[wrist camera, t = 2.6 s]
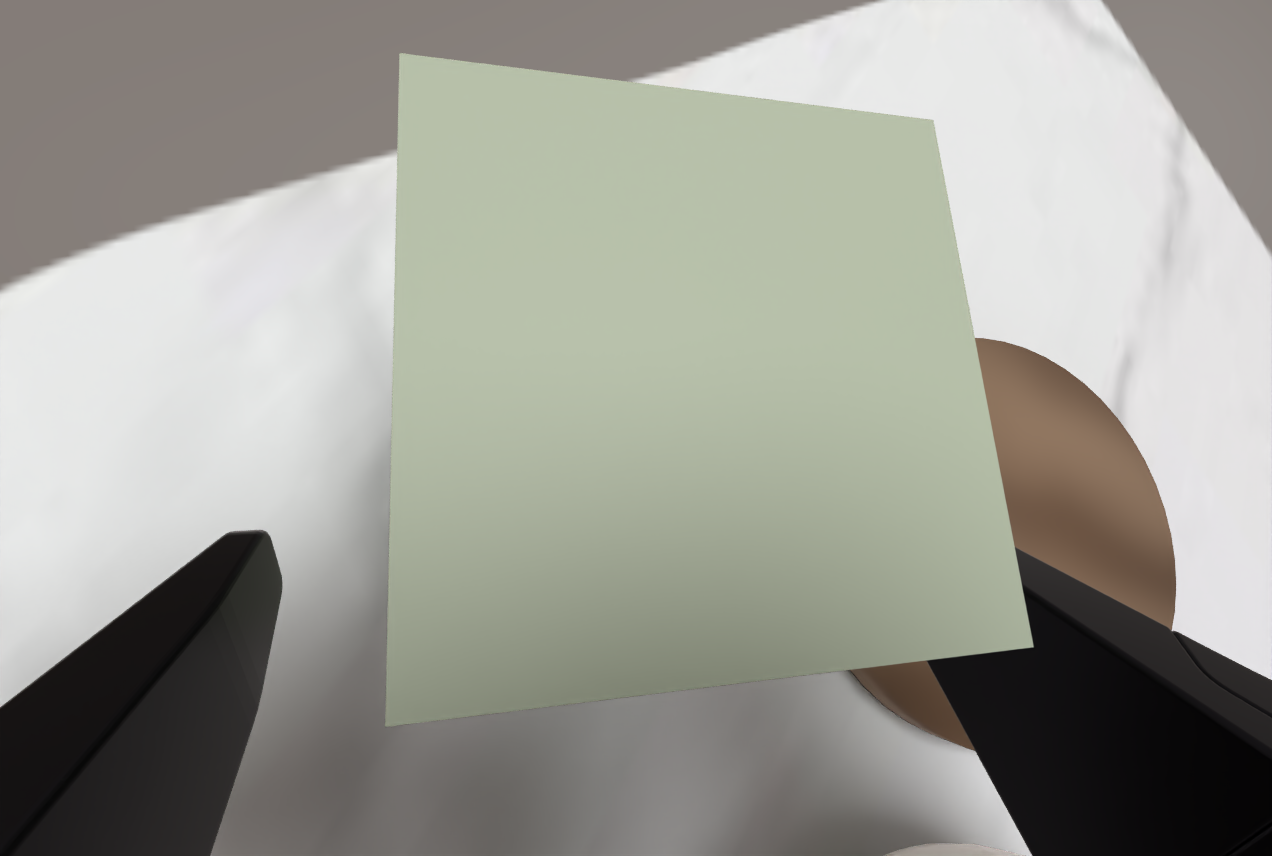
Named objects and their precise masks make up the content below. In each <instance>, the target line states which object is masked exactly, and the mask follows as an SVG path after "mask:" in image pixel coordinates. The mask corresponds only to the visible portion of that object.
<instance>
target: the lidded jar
mask: <svg viewBox="0 0 1272 856" xmlns="http://www.w3.org/2000/svg"><path fill="white" fill-rule="evenodd" d="M884 856H1025V855H1021V854H1016V853H1012V852H1008V851H1004V850H1000V849H996V848H991V847H986V846H982V845H977V844H941V843H928V844H922V845H917V846H912V847H907V848H903V849H900V850H897V851H894V852H892V853H889V854H887V855H884Z"/></svg>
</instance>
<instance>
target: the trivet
mask: <svg viewBox="0 0 1272 856" xmlns="http://www.w3.org/2000/svg"><path fill="white" fill-rule="evenodd" d="M975 342H976V347H977V353H978V358H979V363H980V368H981V374H982V379H983V384H984V389H985V394H986V400H987V405H988V410H989V415H990V421H991V426H992V431H993V436H994V442H995V447H996V452H997V457H998V463H999V468H1000V473H1001V478H1002V484H1003V489H1004V494H1005V499H1006V505H1007V510H1008V515H1009V520H1010V525H1011V531H1012V536H1013V541H1014V546H1015V547H1016V548H1018V549H1020V550H1022V551H1024V552H1026V553H1028V554H1030V555H1031V556H1033V557H1035V558H1037V559H1039V560H1041V561H1043V562H1045V563H1047V564H1049V565H1051V566H1052V567H1054V568H1056V569H1058V570H1060V571H1062V572H1064V573H1066V574H1068V575H1070V576H1071V577H1073V578H1075V579H1077V580H1079V581H1081V582H1083V583H1085V584H1087V585H1089V586H1091V587H1092V588H1094V589H1096V590H1098V591H1100V592H1102V593H1104V594H1106V595H1108V596H1110V597H1112V598H1113V599H1115V600H1117V601H1119V602H1121V603H1123V604H1125V605H1127V606H1129V607H1131V608H1133V609H1134V610H1136V611H1138V612H1140V613H1142V614H1144V615H1146V616H1148V617H1150V618H1152V619H1154V620H1155V621H1157V622H1159V623H1161V624H1163V625H1165V626H1167V627H1169V628H1170V630H1172V624H1173V619H1174V613H1175V597H1176V574H1175V558H1174V551H1173V545H1172V538H1171V533H1170V529H1169V525H1168V521H1167V516H1166V512H1165V509H1164V506H1163V503H1162V500H1161V497H1160V495H1159V492H1158V489H1157V486H1156V484H1155V481H1154V479H1153V477H1152V475H1151V473H1150V470H1149V468H1148V466H1147V464H1146V462H1145V460H1144V458H1143V457H1142V455H1141V453H1140V451H1139V450H1138V448H1137V446H1136V444H1135V443H1134V441H1133V439H1132V438H1131V436H1130V435H1129V434H1128V432H1127V431H1126V429H1125V428H1124V427H1123V425H1122V424H1121V422H1120V421H1119V420H1118V418H1117V417H1116V416H1115V415H1114V414H1113V413H1112V411H1111V410H1110V409H1109V408H1108V407H1107V406H1106V404H1105V403H1104V402H1103V401H1102V400H1101V399H1100V398H1099V397H1098V396H1097V395H1096V394H1095V393H1094V392H1093V391H1092V390H1090V389H1089V388H1088V387H1087V386H1086V385H1085V384H1084V383H1083V382H1081V381H1080V380H1079V379H1077V378H1076V377H1075V376H1074V375H1072V374H1071V373H1070V372H1068V371H1067V370H1066V369H1064V368H1062V367H1061V366H1059V365H1057V364H1056V363H1054V362H1052V361H1051V360H1049V359H1047V358H1046V357H1044V356H1041V355H1039V354H1037V353H1035V352H1032V351H1030V350H1028V349H1026V348H1023V347H1019V346H1016V345H1013V344H1010V343H1006V342H1002V341H996V340H990V339H984V338H975ZM850 671H851V672H852V673H853V674H854V675H855V677H856V678H857V679H858V680H859V681H860V682H861V684H862V685H863V686H864V687H865V688H866V689H867V690H868V691H869V692H870V693H871V694H872V695H873V696H874V697H876V698H877V699H878V700H879V701H880V702H881V703H882V704H883V705H884V706H885V707H887V708H888V709H890V710H891V711H892V712H894V713H895V714H897V715H898V716H900V717H901V718H902V719H904V720H905V721H907V722H908V723H910V724H912V725H914V726H916V727H918V728H920V729H922V730H924V731H926V732H928V733H930V734H933V735H935V736H938V737H940V738H943V739H945V740H948V741H950V742H953V743H955V744H958V745H960V746H963V747H965V748H968V749H971V750H974V751H975V749H974V748H973V746H972V744H971V742H970V740H969V738H968V737H967V735H966V733H965V731H964V729H963V727H962V726H961V724H960V722H959V720H958V718H957V716H956V715H955V713H954V711H953V709H952V707H951V705H950V704H949V702H948V700H947V698H946V696H945V694H944V692H943V691H942V689H941V687H940V685H939V683H938V681H937V680H936V678H935V676H934V674H933V672H932V670H931V669H930V667H929V665H928V663H927V661H926V660H925V661H917V662H909V663H901V664H893V665H885V666H877V667H869V668H861V669H852V670H850Z"/></svg>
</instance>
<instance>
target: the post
mask: <svg viewBox="0 0 1272 856" xmlns="http://www.w3.org/2000/svg"><path fill="white" fill-rule="evenodd" d="M1031 647H1034V646H1033V641H1032V636H1031V630H1030V625H1029V620H1028V615H1027V609H1026V604H1025V599H1024V594H1023V588H1022V583H1021V578H1020V573H1019V567H1018V562H1017V557H1016V552H1015V546H1014V541H1013V536H1012V531H1011V525H1010V520H1009V515H1008V510H1007V505H1006V499H1005V494H1004V489H1003V484H1002V478H1001V473H1000V468H999V463H998V457H997V452H996V447H995V442H994V436H993V431H992V426H991V421H990V415H989V410H988V405H987V400H986V394H985V389H984V384H983V379H982V374H981V368H980V363H979V358H978V353H977V347H976V342H975V337H974V332H973V326H972V321H971V316H970V311H969V305H968V300H967V295H966V290H965V284H964V279H963V274H962V269H961V263H960V258H959V253H958V248H957V243H956V237H955V232H954V227H953V222H952V216H951V211H950V206H949V201H948V195H947V190H946V185H945V180H944V174H943V169H942V164H941V159H940V153H939V148H938V143H937V138H936V132H935V127H934V122H933V120H928V119H920V118H912V117H904V116H896V115H888V114H880V113H872V112H864V111H856V110H849V109H841V108H833V107H825V106H817V105H809V104H801V103H793V102H785V101H777V100H769V99H761V98H753V97H745V96H737V95H729V94H721V93H713V92H705V91H697V90H689V89H681V88H673V87H665V86H657V85H649V84H641V83H633V82H625V81H617V80H608V79H601V78H593V77H585V76H577V75H569V74H561V73H553V72H546V71H537V70H530V69H521V68H514V67H505V66H498V65H490V64H482V63H473V62H466V61H458V60H450V59H441V58H434V57H426V56H417V55H410V54H402V53H400V61H399V106H398V152H397V198H396V245H395V291H394V337H393V383H392V430H391V476H390V522H389V568H388V615H387V661H386V707H385V727H390V726H398V725H406V724H414V723H422V722H430V721H438V720H447V719H455V718H463V717H471V716H479V715H487V714H495V713H503V712H511V711H520V710H528V709H536V708H544V707H552V706H560V705H568V704H576V703H585V702H593V701H601V700H609V699H617V698H625V697H633V696H641V695H649V694H658V693H666V692H674V691H682V690H690V689H698V688H706V687H714V686H723V685H731V684H739V683H747V682H755V681H763V680H771V679H779V678H787V677H796V676H804V675H812V674H820V673H828V672H836V671H844V670H852V669H861V668H869V667H877V666H885V665H893V664H901V663H909V662H917V661H925V660H934V659H942V658H950V657H958V656H966V655H974V654H982V653H990V652H998V651H1007V650H1015V649H1023V648H1031Z"/></svg>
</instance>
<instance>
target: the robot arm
mask: <svg viewBox="0 0 1272 856" xmlns="http://www.w3.org/2000/svg"><path fill="white" fill-rule="evenodd" d="M1015 552H1016V557H1017V562H1018V567H1019V573H1020V578H1021V583H1022V588H1023V594H1024V599H1025V604H1026V609H1027V615H1028V620H1029V625H1030V630H1031V636H1032V641H1033V646H1034V647H1031V648H1023V649H1015V650H1007V651H998V652H990V653H982V654H974V655H966V656H958V657H950V658H942V659H934V660H926V661H927V663H928V665H929V667H930V669H931V670H932V672H933V674H934V676H935V678H936V680H937V681H938V683H939V685H940V687H941V689H942V691H943V692H944V694H945V696H946V698H947V700H948V702H949V704H950V705H951V707H952V709H953V711H954V713H955V715H956V716H957V718H958V720H959V722H960V724H961V726H962V727H963V729H964V731H965V733H966V735H967V737H968V738H969V740H970V742H971V744H972V746H973V748H974V749H975V751H976V753H977V755H978V757H979V759H980V760H981V762H982V764H983V766H984V768H985V770H986V772H987V773H988V775H989V777H990V779H991V781H992V783H993V784H994V786H995V788H996V790H997V792H998V794H999V795H1000V797H1001V799H1002V801H1003V803H1004V805H1005V806H1006V808H1007V810H1008V812H1009V814H1010V816H1011V817H1012V819H1013V821H1014V823H1015V825H1016V827H1017V828H1018V830H1019V832H1020V834H1021V836H1022V838H1023V840H1024V841H1025V843H1026V845H1027V847H1028V849H1029V851H1030V852H1031V854H1032V856H1272V680H1271V679H1268V678H1266V677H1264V676H1262V675H1260V674H1258V673H1256V672H1254V671H1252V670H1250V669H1248V668H1246V667H1244V666H1242V665H1240V664H1238V663H1237V662H1235V661H1233V660H1231V659H1229V658H1227V657H1225V656H1223V655H1221V654H1219V653H1217V652H1215V651H1213V650H1211V649H1209V648H1207V647H1205V646H1203V645H1201V644H1200V643H1198V642H1196V641H1194V640H1192V639H1190V638H1188V637H1186V636H1184V635H1182V634H1181V633H1179V632H1176V631H1171V630H1170V628H1169V627H1167V626H1165V625H1163V624H1161V623H1159V622H1157V621H1155V620H1154V619H1152V618H1150V617H1148V616H1146V615H1144V614H1142V613H1140V612H1138V611H1136V610H1134V609H1133V608H1131V607H1129V606H1127V605H1125V604H1123V603H1121V602H1119V601H1117V600H1115V599H1113V598H1112V597H1110V596H1108V595H1106V594H1104V593H1102V592H1100V591H1098V590H1096V589H1094V588H1092V587H1091V586H1089V585H1087V584H1085V583H1083V582H1081V581H1079V580H1077V579H1075V578H1073V577H1071V576H1070V575H1068V574H1066V573H1064V572H1062V571H1060V570H1058V569H1056V568H1054V567H1052V566H1051V565H1049V564H1047V563H1045V562H1043V561H1041V560H1039V559H1037V558H1035V557H1033V556H1031V555H1030V554H1028V553H1026V552H1024V551H1022V550H1020V549H1018V548H1016V547H1015ZM281 595H282V575H281V572H280V568H279V565H278V561H277V558H276V554H275V551H274V547H273V544H272V540H271V538H270V536H269V534H268V533H267V532H266V531H263V530H248V531H233V532H229V533H227V534H225V535H224V536H222V537H221V538H219V539H218V540H217V541H216V542H214V543H213V544H212V545H210V546H209V547H208V548H206V549H205V550H204V551H203V552H201V553H200V554H199V555H197V556H196V557H195V558H193V559H192V560H191V561H190V562H188V563H187V564H186V565H184V566H183V567H182V568H180V569H179V570H178V571H177V572H175V573H174V574H173V575H171V576H170V577H169V578H168V579H166V580H165V581H164V582H162V583H161V584H160V585H158V586H157V587H156V588H155V589H153V590H152V591H151V592H149V593H148V594H147V595H145V596H144V597H143V598H142V599H140V600H139V601H138V602H136V603H135V604H134V605H132V606H131V607H130V608H129V609H127V610H126V611H125V612H123V613H122V614H121V615H119V616H118V617H117V618H116V619H114V620H113V621H112V622H110V623H109V624H108V625H106V626H105V627H104V628H103V629H101V630H100V631H99V632H97V633H96V634H95V635H93V636H92V637H91V638H90V639H88V640H87V641H86V642H84V643H83V644H82V645H80V646H79V647H78V648H77V649H75V650H74V651H73V652H71V653H70V654H69V655H68V656H66V657H65V658H64V659H62V660H61V661H60V662H58V663H57V664H56V665H55V666H53V667H52V668H51V669H49V670H48V671H47V672H45V673H44V674H43V675H42V676H40V677H39V678H38V679H36V680H35V681H34V682H32V683H31V684H30V685H29V686H27V687H26V688H25V689H23V690H22V691H21V692H19V693H18V694H17V695H16V696H14V697H13V698H12V699H10V700H9V701H8V702H6V703H5V704H4V705H3V706H1V707H0V856H210V854H211V851H212V848H213V845H214V842H215V839H216V836H217V833H218V830H219V827H220V824H221V821H222V818H223V815H224V812H225V809H226V806H227V803H228V800H229V797H230V794H231V791H232V788H233V785H234V782H235V779H236V776H237V773H238V770H239V767H240V764H241V761H242V758H243V754H244V751H245V748H246V745H247V742H248V739H249V736H250V733H251V730H252V727H253V724H254V720H255V717H256V714H257V710H258V706H259V702H260V698H261V693H262V689H263V684H264V679H265V674H266V669H267V664H268V659H269V654H270V649H271V644H272V639H273V634H274V630H275V625H276V620H277V615H278V610H279V605H280V600H281Z"/></svg>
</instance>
